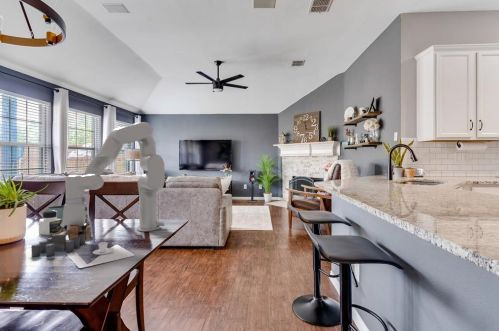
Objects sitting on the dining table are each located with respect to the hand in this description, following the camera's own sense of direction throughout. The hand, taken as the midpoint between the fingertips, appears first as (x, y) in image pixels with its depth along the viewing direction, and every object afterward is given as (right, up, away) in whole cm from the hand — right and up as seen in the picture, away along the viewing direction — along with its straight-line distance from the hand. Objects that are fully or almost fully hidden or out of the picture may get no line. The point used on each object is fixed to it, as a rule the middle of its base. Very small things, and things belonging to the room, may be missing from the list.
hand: (76, 239), depth 128 cm
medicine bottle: (-25, -2, +17) cm, 30 cm away
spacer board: (+1, -2, -12) cm, 12 cm away
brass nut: (+1, -1, -10) cm, 10 cm away
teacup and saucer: (+21, -2, -17) cm, 27 cm away
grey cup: (-30, -1, +29) cm, 42 cm away
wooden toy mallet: (0, -1, -3) cm, 3 cm away
